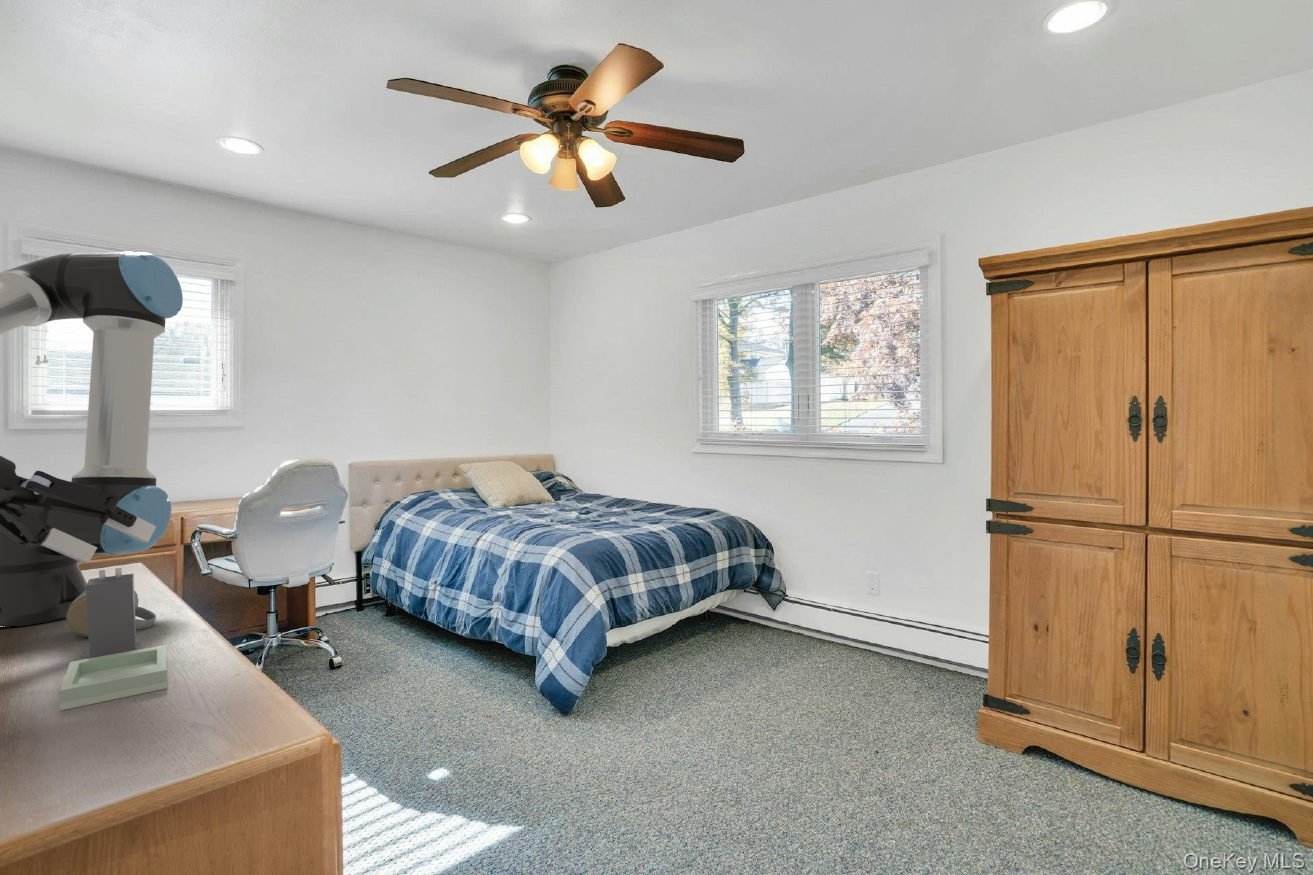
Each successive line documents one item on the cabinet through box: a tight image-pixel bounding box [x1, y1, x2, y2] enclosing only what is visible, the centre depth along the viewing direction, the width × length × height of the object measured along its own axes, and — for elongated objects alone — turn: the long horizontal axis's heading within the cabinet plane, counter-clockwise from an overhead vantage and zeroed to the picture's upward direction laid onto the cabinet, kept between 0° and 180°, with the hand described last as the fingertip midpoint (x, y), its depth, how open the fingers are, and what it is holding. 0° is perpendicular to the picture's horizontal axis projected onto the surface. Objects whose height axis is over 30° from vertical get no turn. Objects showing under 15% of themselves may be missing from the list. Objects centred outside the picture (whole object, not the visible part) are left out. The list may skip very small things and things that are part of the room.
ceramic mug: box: [65, 589, 157, 638], centre depth 107 cm, size 11×8×8 cm
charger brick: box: [86, 567, 138, 659], centre depth 95 cm, size 5×5×12 cm
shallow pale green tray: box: [58, 644, 169, 712], centre depth 85 cm, size 12×10×2 cm
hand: (120, 545), depth 103 cm, fingers open, 13 cm apart
